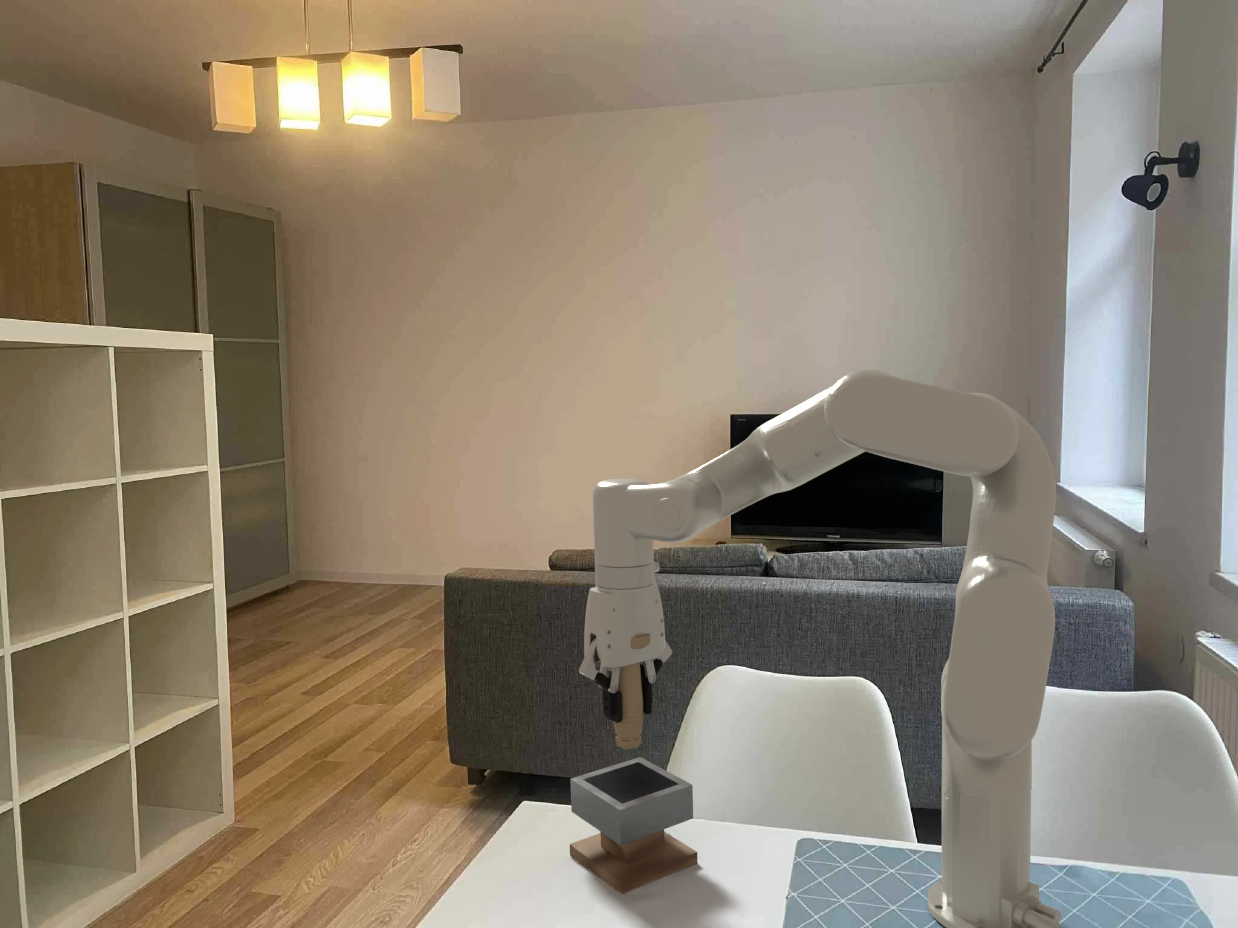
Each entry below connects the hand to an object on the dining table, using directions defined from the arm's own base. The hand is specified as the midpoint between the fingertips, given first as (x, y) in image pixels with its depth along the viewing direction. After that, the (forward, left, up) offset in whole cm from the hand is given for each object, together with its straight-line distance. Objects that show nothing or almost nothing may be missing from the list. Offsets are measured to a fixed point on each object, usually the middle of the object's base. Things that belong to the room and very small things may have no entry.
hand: (628, 713), depth 121 cm
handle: (0, 0, -4) cm, 4 cm away
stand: (0, 0, -20) cm, 20 cm away
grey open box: (0, 0, -14) cm, 14 cm away
